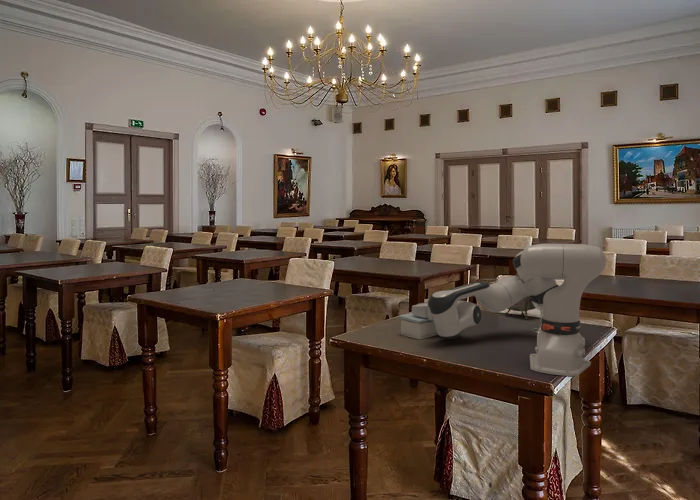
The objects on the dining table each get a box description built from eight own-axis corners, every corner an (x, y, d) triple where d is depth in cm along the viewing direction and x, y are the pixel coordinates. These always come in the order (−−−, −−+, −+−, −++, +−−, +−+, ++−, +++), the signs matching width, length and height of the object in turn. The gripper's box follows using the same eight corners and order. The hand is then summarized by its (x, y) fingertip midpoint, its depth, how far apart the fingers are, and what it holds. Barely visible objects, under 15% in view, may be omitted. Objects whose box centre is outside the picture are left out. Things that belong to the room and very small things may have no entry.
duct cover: (459, 314, 221) (459, 311, 221) (419, 323, 205) (419, 321, 204) (439, 309, 229) (439, 306, 229) (399, 317, 212) (399, 315, 212)
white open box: (458, 329, 221) (458, 314, 221) (419, 339, 206) (419, 324, 205) (439, 325, 229) (439, 311, 228) (400, 334, 213) (400, 319, 212)
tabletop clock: (500, 315, 247) (501, 262, 244) (513, 313, 252) (514, 260, 250) (527, 321, 235) (528, 264, 233) (539, 318, 240) (541, 263, 238)
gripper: (461, 298, 217) (435, 294, 228) (428, 305, 204) (402, 300, 215) (461, 313, 218) (435, 309, 228) (428, 321, 205) (402, 316, 215)
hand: (419, 305), depth 221 cm, fingers closed
